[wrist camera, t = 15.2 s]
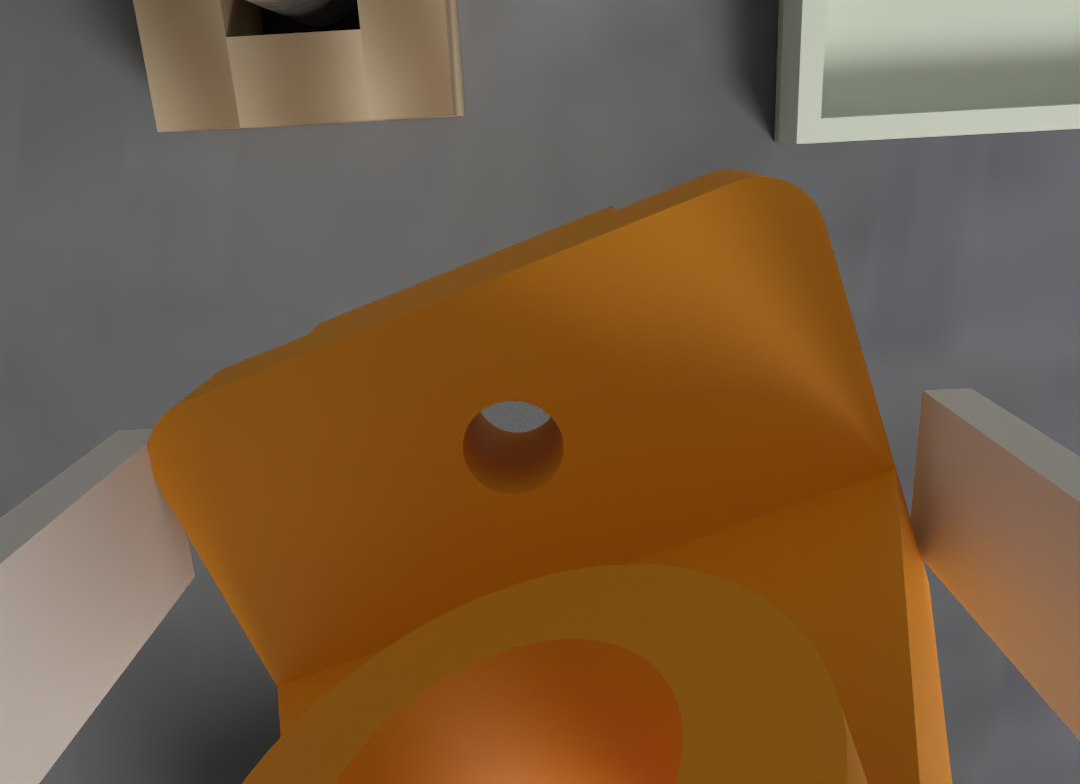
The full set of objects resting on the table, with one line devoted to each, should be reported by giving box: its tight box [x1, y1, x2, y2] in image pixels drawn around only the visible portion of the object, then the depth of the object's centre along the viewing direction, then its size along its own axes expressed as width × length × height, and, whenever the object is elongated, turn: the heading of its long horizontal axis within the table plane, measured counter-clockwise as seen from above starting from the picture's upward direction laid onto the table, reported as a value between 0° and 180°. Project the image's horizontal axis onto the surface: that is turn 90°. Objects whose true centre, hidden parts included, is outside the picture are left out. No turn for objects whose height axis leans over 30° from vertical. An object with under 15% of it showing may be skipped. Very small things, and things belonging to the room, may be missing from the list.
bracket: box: [148, 169, 952, 784], centre depth 10 cm, size 11×7×12 cm
